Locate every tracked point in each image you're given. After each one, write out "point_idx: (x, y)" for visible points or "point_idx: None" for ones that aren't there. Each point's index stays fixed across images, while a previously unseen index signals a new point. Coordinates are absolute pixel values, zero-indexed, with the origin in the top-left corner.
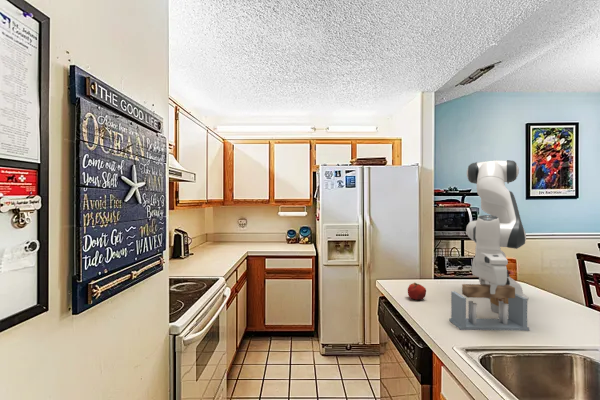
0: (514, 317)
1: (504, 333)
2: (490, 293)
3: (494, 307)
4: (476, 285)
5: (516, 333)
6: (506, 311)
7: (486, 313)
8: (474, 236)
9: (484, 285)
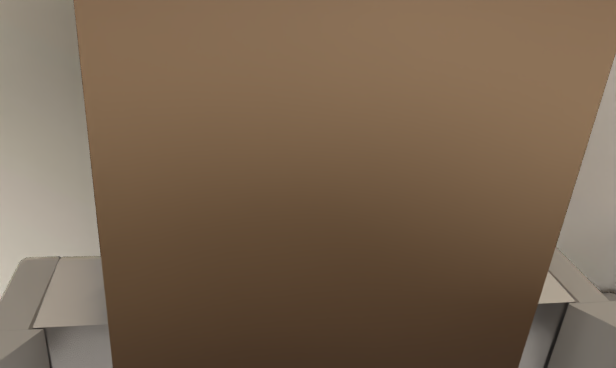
0: None
1: (16, 112)
2: (48, 257)
3: None
4: (415, 63)
5: (38, 221)
6: None
7: (571, 221)
8: None
9: (382, 329)
